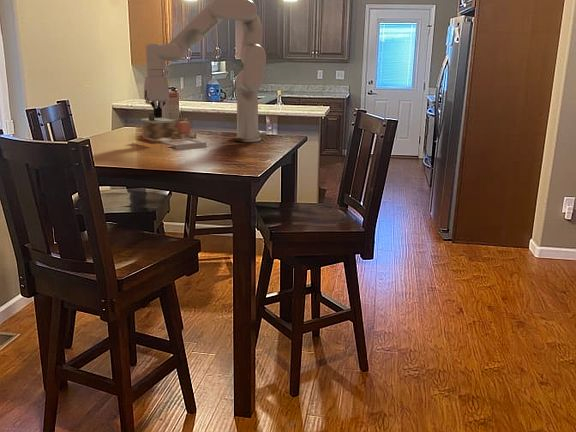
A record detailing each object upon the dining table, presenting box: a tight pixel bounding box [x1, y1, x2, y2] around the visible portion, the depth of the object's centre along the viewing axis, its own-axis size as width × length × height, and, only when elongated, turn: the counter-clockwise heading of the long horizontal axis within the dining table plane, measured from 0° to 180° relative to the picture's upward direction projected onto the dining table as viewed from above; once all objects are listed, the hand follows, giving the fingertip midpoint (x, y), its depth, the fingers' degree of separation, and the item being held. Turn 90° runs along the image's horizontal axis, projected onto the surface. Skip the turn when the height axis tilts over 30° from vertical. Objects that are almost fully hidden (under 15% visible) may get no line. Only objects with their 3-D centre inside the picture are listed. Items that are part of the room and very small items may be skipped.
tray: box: [160, 138, 207, 151], centre depth 236 cm, size 14×14×2 cm
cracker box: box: [161, 90, 180, 120], centre depth 264 cm, size 14×6×21 cm, turn 22°
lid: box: [140, 112, 175, 123], centre depth 243 cm, size 10×13×4 cm
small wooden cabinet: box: [141, 118, 200, 145], centre depth 249 cm, size 22×13×9 cm, turn 129°
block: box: [177, 121, 191, 134], centre depth 251 cm, size 4×4×7 cm
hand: (158, 117), depth 242 cm, fingers closed
